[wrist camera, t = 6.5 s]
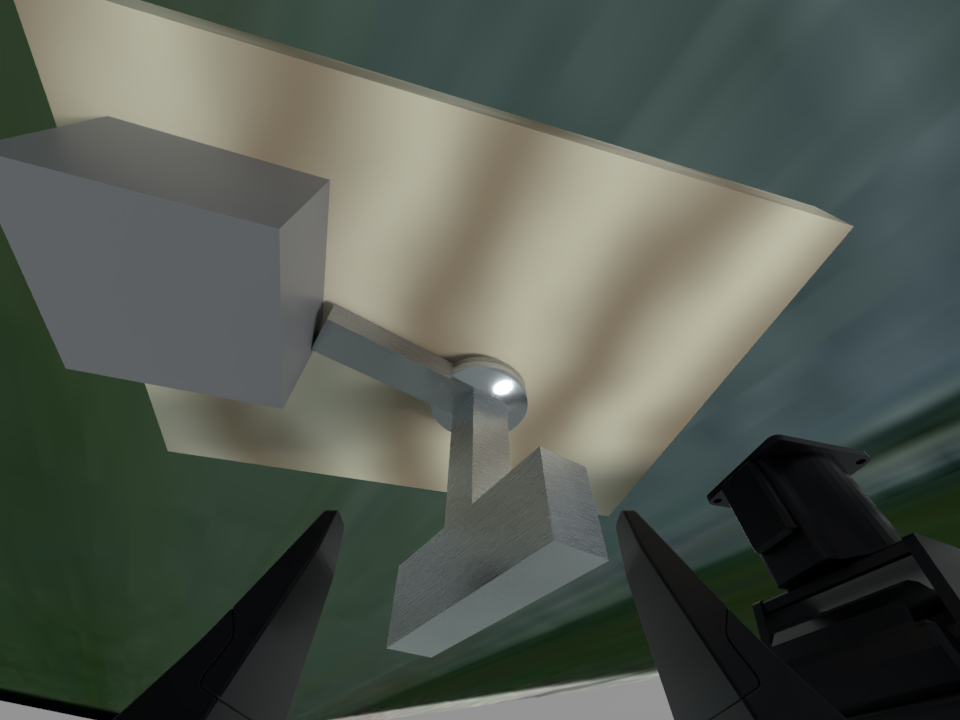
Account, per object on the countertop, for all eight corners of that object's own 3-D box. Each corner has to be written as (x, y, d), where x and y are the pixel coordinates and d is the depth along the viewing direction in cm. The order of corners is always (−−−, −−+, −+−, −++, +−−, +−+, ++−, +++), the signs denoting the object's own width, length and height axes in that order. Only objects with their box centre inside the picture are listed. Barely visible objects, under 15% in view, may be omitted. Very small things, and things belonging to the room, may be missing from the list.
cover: (330, 180, 12) (279, 228, 9) (321, 335, 16) (282, 408, 13) (108, 116, 11) (-35, 147, 8) (152, 298, 15) (65, 368, 12)
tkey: (372, 231, 13) (260, 434, 6) (577, 352, 16) (646, 574, 9) (292, 385, 17) (175, 604, 11) (468, 458, 20) (462, 663, 14)
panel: (814, 206, 15) (854, 226, 13) (600, 486, 26) (608, 516, 24) (71, -21, 11) (3, -31, 9) (190, 421, 22) (167, 451, 20)
